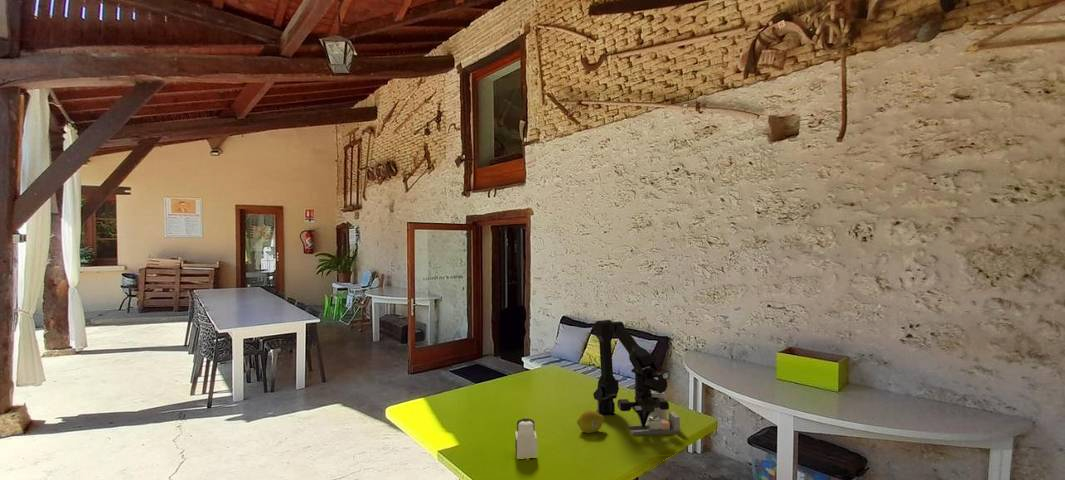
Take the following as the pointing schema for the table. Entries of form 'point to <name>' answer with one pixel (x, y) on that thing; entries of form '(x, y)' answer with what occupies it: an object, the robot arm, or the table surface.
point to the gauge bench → (674, 428)
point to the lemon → (590, 421)
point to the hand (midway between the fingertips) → (643, 426)
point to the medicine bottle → (525, 439)
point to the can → (658, 412)
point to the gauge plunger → (653, 423)
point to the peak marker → (665, 424)
